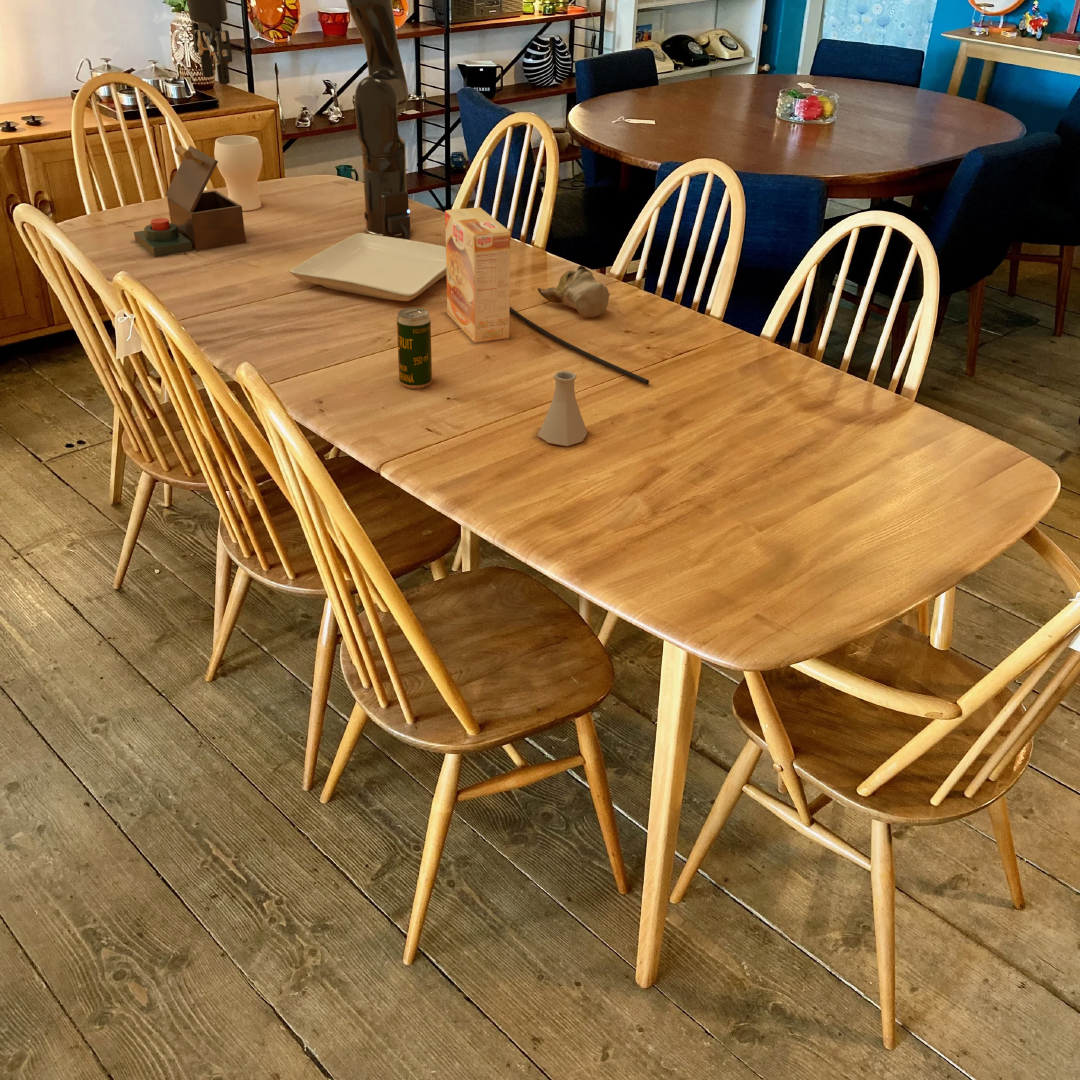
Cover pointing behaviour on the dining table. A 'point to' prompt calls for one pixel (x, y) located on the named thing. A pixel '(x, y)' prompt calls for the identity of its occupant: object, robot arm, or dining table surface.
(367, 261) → the square plate
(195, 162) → the chest lid
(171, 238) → the green button base
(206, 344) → the dining table surface
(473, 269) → the coffeecake box
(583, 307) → the ceramic sculpture
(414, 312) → the green soda can
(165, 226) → the button
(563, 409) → the flask
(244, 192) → the cup
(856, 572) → the dining table surface
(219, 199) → the chest
